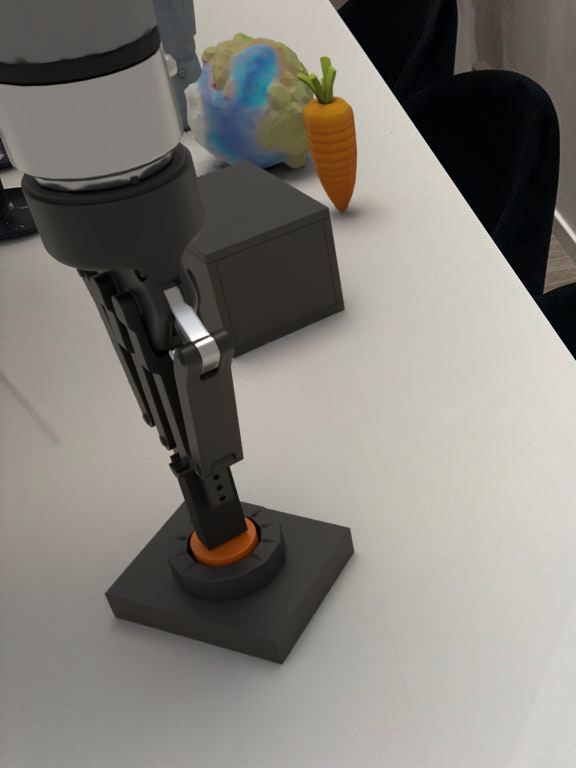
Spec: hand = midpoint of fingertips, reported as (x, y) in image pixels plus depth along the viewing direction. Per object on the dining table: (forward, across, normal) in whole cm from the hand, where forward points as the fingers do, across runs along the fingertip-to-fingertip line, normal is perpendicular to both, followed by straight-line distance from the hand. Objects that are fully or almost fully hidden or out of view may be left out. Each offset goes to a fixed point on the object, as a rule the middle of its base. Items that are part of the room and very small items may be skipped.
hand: (222, 533), depth 59 cm
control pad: (+5, 0, 0) cm, 5 cm away
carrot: (+5, +40, -35) cm, 53 cm away
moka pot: (+5, +76, -34) cm, 84 cm away
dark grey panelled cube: (+5, +30, -18) cm, 36 cm away
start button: (+2, 0, 0) cm, 2 cm away
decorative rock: (+5, +57, -36) cm, 68 cm away
